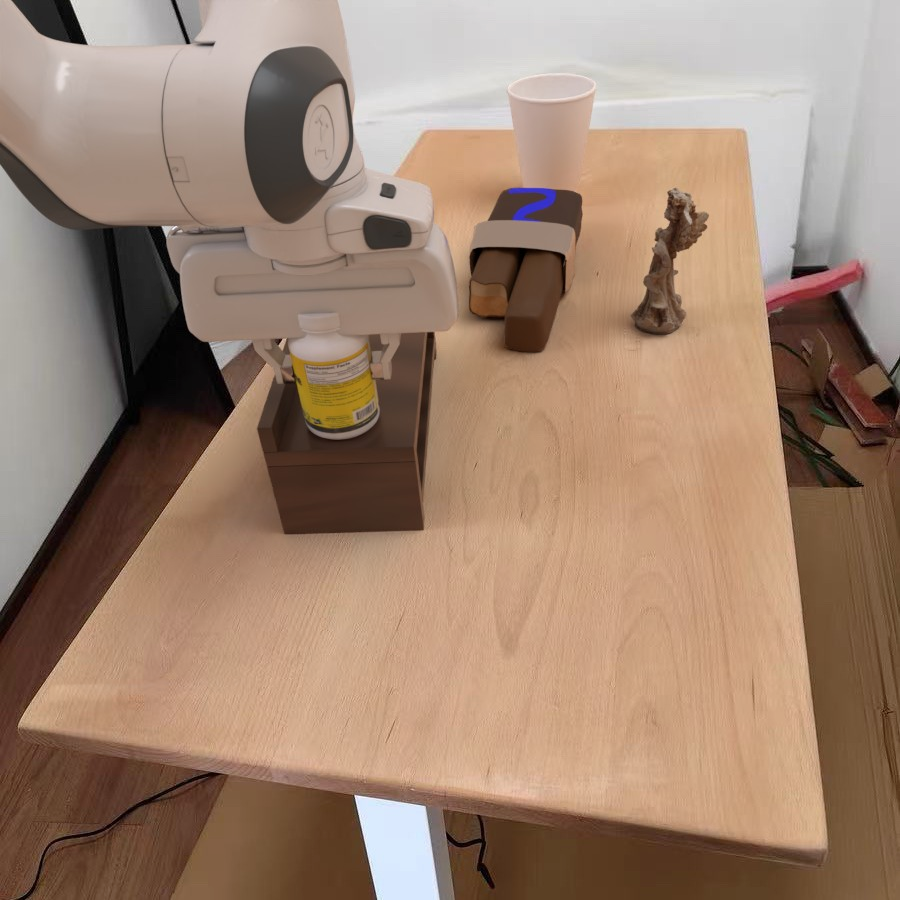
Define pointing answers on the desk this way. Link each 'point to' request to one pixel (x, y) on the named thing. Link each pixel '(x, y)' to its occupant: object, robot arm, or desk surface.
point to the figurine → (669, 265)
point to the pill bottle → (334, 378)
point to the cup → (551, 127)
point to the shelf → (354, 453)
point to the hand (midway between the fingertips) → (336, 377)
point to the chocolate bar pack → (525, 262)
